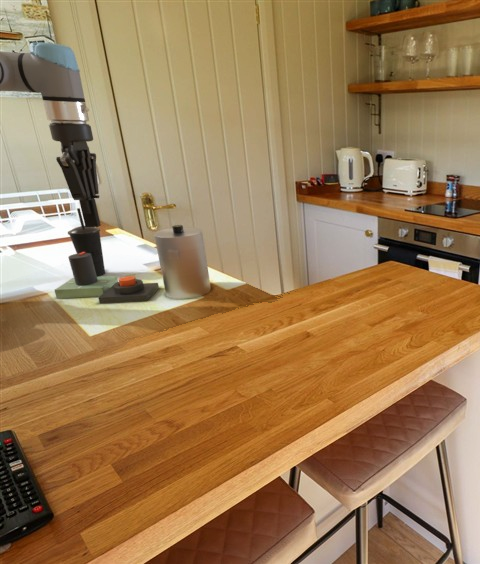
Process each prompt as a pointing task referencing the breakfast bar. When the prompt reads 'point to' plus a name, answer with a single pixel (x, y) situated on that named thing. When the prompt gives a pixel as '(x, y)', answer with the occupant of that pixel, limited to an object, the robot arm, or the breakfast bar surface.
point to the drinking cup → (88, 244)
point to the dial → (83, 268)
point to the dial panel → (85, 288)
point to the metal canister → (183, 262)
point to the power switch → (127, 281)
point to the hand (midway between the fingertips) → (93, 226)
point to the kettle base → (129, 292)
